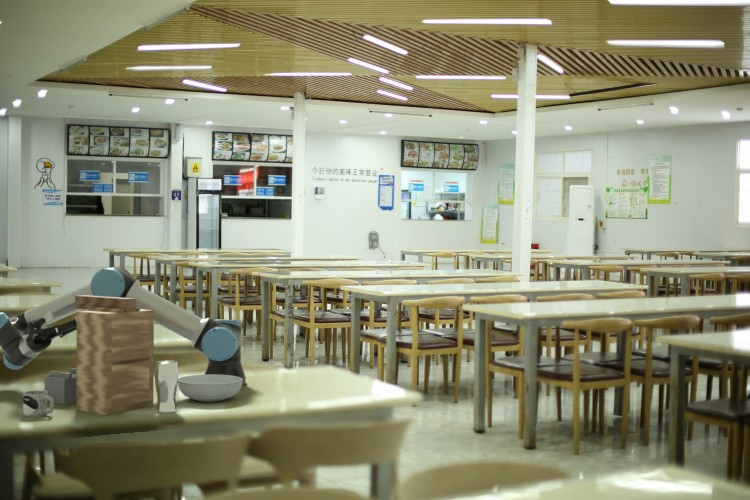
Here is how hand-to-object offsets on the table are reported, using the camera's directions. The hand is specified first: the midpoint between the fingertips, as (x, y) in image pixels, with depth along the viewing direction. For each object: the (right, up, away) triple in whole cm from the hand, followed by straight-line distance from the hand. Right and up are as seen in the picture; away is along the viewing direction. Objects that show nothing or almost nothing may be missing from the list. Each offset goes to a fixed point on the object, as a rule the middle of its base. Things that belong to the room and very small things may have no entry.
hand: (70, 313), depth 288 cm
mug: (0, -28, -25) cm, 38 cm away
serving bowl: (+45, -28, +3) cm, 53 cm away
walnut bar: (+15, +2, -11) cm, 18 cm away
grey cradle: (0, -28, -1) cm, 28 cm away
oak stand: (+18, -28, -13) cm, 36 cm away
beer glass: (+35, -28, -18) cm, 49 cm away
